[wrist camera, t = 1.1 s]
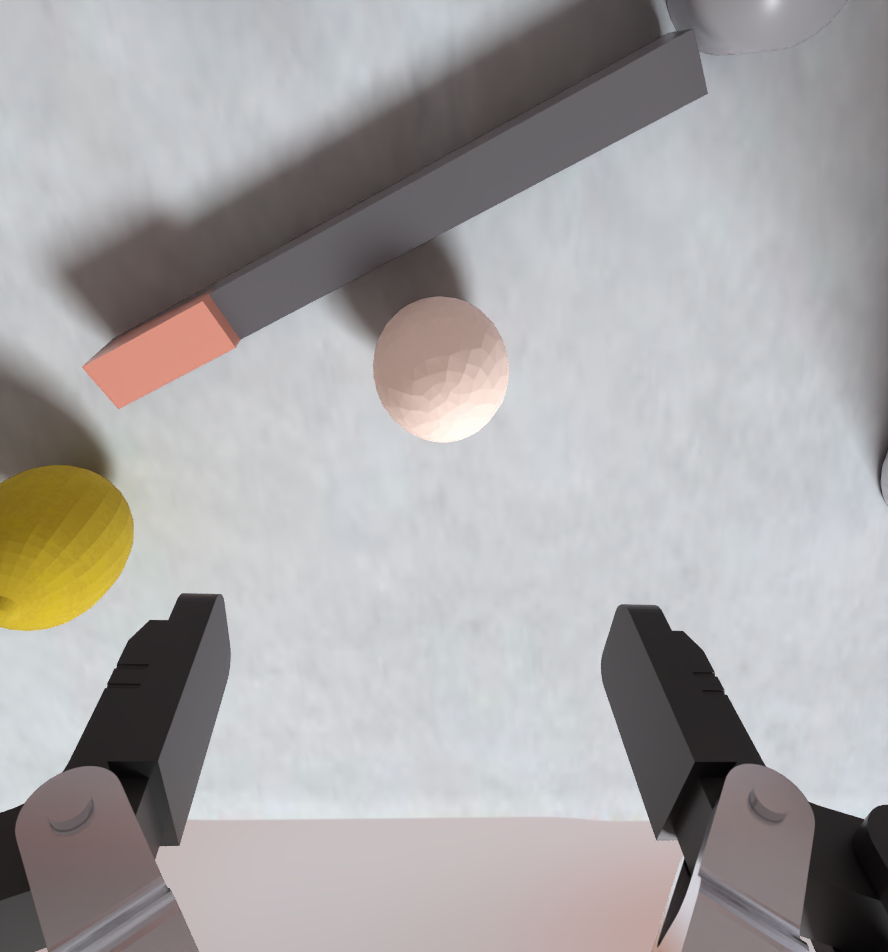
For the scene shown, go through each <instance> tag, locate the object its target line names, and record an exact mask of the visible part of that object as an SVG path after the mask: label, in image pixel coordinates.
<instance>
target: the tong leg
mask: <svg viewBox="0 0 888 952" xmlns="http://www.w3.org/2000/svg"><path fill="white" fill-rule="evenodd" d="M706 94H708V93H707V88H706V83H705V78H704V74H703V69H702V64H701V59H700V55H699V50H698V45H697V40H696V36H695V31H694V28H692V29H687V30H682V31H677V32H671V33H668V34H666V35H664V36H662V37H660V38H658V39H657V40H655V41H653V42H651V43H649V44H648V45H646V46H644V47H642V48H640V49H638V50H637V51H635V52H633V53H631V54H629V55H628V56H626V57H624V58H622V59H620V60H618V61H617V62H615V63H613V64H611V65H609V66H608V67H606V68H604V69H602V70H600V71H599V72H597V73H595V74H593V75H591V76H589V77H588V78H586V79H584V80H582V81H580V82H579V83H577V84H575V85H573V86H571V87H569V88H568V89H566V90H564V91H562V92H560V93H559V94H557V95H555V96H553V97H551V98H549V99H548V100H546V101H544V102H542V103H540V104H539V105H537V106H535V107H533V108H531V109H530V110H528V111H526V112H524V113H522V114H520V115H519V116H517V117H515V118H513V119H511V120H510V121H508V122H506V123H504V124H502V125H500V126H499V127H497V128H495V129H493V130H491V131H490V132H488V133H486V134H484V135H482V136H481V137H479V138H477V139H475V140H473V141H471V142H470V143H468V144H466V145H464V146H462V147H461V148H459V149H457V150H455V151H453V152H451V153H450V154H448V155H446V156H444V157H442V158H441V159H439V160H437V161H435V162H433V163H431V164H430V165H428V166H426V167H424V168H422V169H421V170H419V171H417V172H415V173H413V174H412V175H410V176H408V177H406V178H404V179H402V180H401V181H399V182H397V183H395V184H393V185H392V186H390V187H388V188H386V189H384V190H382V191H381V192H379V193H377V194H375V195H373V196H372V197H370V198H368V199H366V200H364V201H363V202H361V203H359V204H357V205H355V206H353V207H352V208H350V209H348V210H346V211H344V212H343V213H341V214H339V215H337V216H335V217H333V218H332V219H330V220H328V221H326V222H324V223H323V224H321V225H319V226H317V227H315V228H313V229H312V230H310V231H308V232H306V233H304V234H303V235H301V236H299V237H297V238H295V239H294V240H292V241H290V242H288V243H286V244H284V245H283V246H281V247H279V248H277V249H275V250H274V251H272V252H270V253H268V254H266V255H264V256H263V257H261V258H259V259H257V260H255V261H254V262H252V263H250V264H248V265H246V266H244V267H243V268H241V269H239V270H237V271H235V272H234V273H232V274H230V275H228V276H226V277H225V278H223V279H221V280H219V281H217V282H215V283H214V284H212V285H210V286H208V287H206V288H205V289H203V290H201V291H199V292H197V293H195V294H194V295H192V296H190V297H188V298H186V299H185V300H183V301H181V302H179V303H177V304H176V305H174V306H172V307H170V308H168V309H166V310H165V311H163V312H161V313H159V314H157V315H156V316H154V317H152V318H150V319H148V320H146V321H145V322H143V323H141V324H139V325H137V326H136V327H134V328H132V329H130V330H128V331H126V332H125V333H123V334H121V335H119V336H117V337H116V338H114V339H112V340H111V341H110V342H109V343H108V344H107V345H106V346H105V347H103V348H102V349H101V350H100V351H99V352H98V353H97V354H96V355H95V356H94V357H92V358H91V359H90V360H89V361H88V362H87V363H86V364H85V365H84V366H82V368H83V369H84V370H85V371H86V373H87V374H88V375H89V376H90V377H91V378H92V379H93V381H94V382H95V383H96V384H97V385H98V386H99V387H100V389H101V390H102V391H103V392H104V393H105V394H106V395H107V397H108V398H109V399H110V400H111V401H112V402H113V403H114V405H115V406H116V407H117V408H118V409H120V408H122V407H123V406H125V405H127V404H129V403H131V402H133V401H135V400H137V399H139V398H141V397H142V396H144V395H146V394H148V393H150V392H152V391H154V390H156V389H158V388H160V387H162V386H163V385H165V384H167V383H169V382H171V381H173V380H175V379H177V378H179V377H181V376H182V375H184V374H186V373H188V372H190V371H192V370H194V369H196V368H198V367H200V366H202V365H203V364H205V363H207V362H209V361H211V360H213V359H215V358H217V357H219V356H221V355H223V354H224V353H226V352H228V351H230V350H232V349H234V348H236V346H237V344H238V343H239V341H240V340H241V339H243V338H244V337H246V336H248V335H250V334H252V333H254V332H256V331H258V330H260V329H261V328H263V327H265V326H267V325H269V324H271V323H273V322H275V321H277V320H279V319H280V318H282V317H284V316H286V315H288V314H290V313H292V312H294V311H296V310H298V309H299V308H301V307H303V306H305V305H307V304H309V303H311V302H313V301H315V300H317V299H318V298H320V297H322V296H324V295H326V294H328V293H330V292H332V291H334V290H336V289H337V288H339V287H341V286H343V285H345V284H347V283H349V282H351V281H353V280H355V279H356V278H358V277H360V276H362V275H364V274H366V273H368V272H370V271H372V270H374V269H375V268H377V267H379V266H381V265H383V264H385V263H387V262H389V261H391V260H393V259H394V258H396V257H398V256H400V255H402V254H404V253H406V252H408V251H410V250H412V249H413V248H415V247H417V246H419V245H421V244H423V243H425V242H427V241H429V240H431V239H432V238H434V237H436V236H438V235H440V234H442V233H444V232H446V231H448V230H449V229H451V228H453V227H455V226H457V225H459V224H461V223H463V222H465V221H467V220H468V219H470V218H472V217H474V216H476V215H478V214H480V213H482V212H484V211H486V210H487V209H489V208H491V207H493V206H495V205H497V204H499V203H501V202H503V201H505V200H506V199H508V198H510V197H512V196H514V195H516V194H518V193H520V192H522V191H524V190H525V189H527V188H529V187H531V186H533V185H535V184H537V183H539V182H541V181H543V180H544V179H546V178H548V177H550V176H552V175H554V174H556V173H558V172H560V171H562V170H563V169H565V168H567V167H569V166H571V165H573V164H575V163H577V162H579V161H581V160H582V159H584V158H586V157H588V156H590V155H592V154H594V153H596V152H598V151H600V150H601V149H603V148H605V147H607V146H609V145H611V144H613V143H615V142H617V141H619V140H620V139H622V138H624V137H626V136H628V135H630V134H632V133H634V132H636V131H637V130H639V129H641V128H643V127H645V126H647V125H649V124H651V123H653V122H655V121H656V120H658V119H660V118H662V117H664V116H666V115H668V114H670V113H672V112H674V111H675V110H677V109H679V108H681V107H683V106H685V105H687V104H689V103H691V102H693V101H694V100H696V99H698V98H700V97H702V96H704V95H706Z"/></svg>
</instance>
